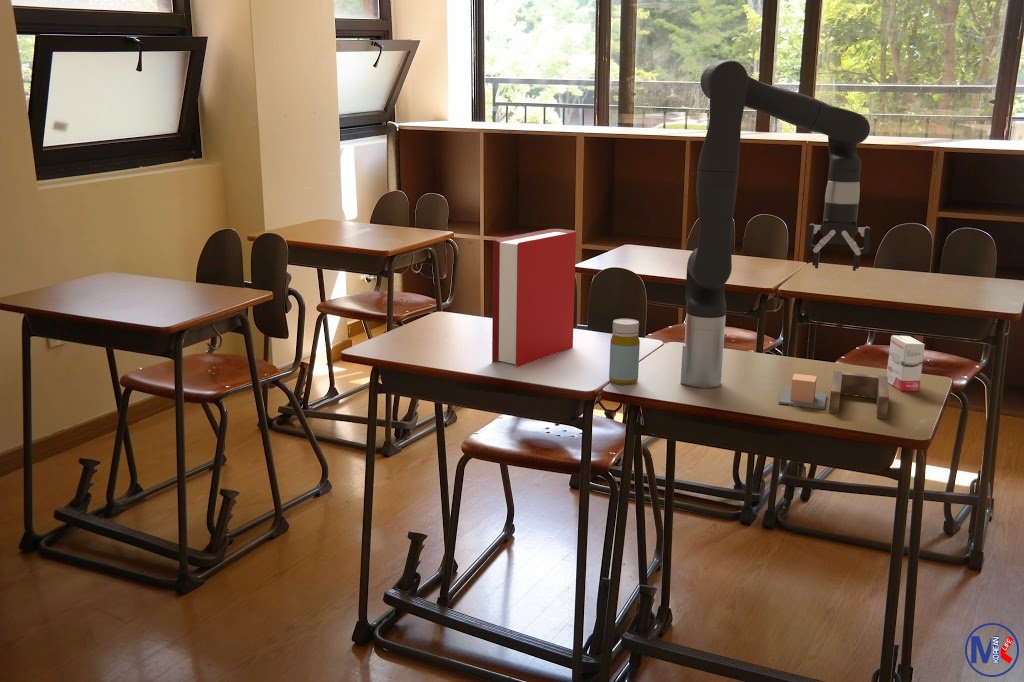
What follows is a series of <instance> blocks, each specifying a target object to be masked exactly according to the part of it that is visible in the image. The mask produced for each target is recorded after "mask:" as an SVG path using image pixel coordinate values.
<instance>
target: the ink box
mask: <svg viewBox="0 0 1024 682" xmlns="http://www.w3.org/2000/svg"><path fill="white" fill-rule="evenodd" d="M925 346H926V344H925V343H923V342H921V341H919V340H917V339H915V338H913V337H912V336H910V335H896V334H895V335H894V334H893V335H891V336H890V345H889V350H888V351H889V352H888V361H887V369H886V376H888V384H889V385H891V386H893V387H894V388H895V389H897V390H898V391H900V392H919V391H920V388H921V378H922V370H923V360H924V354H925V353H924V352H925Z"/></svg>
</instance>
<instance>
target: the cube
mask: <svg viewBox="0 0 1024 682" xmlns="http://www.w3.org/2000/svg"><path fill="white" fill-rule="evenodd" d="M817 379H818V376H817V375H809V374H800V373H793V376H792V379H791V388H790V390H791V397H790V400H791V401H800V402H808V403H813V401H814V398H815V393H816V390H817V389H816V387H817V381H818V380H817Z"/></svg>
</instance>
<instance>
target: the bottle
mask: <svg viewBox="0 0 1024 682" xmlns="http://www.w3.org/2000/svg"><path fill="white" fill-rule="evenodd" d="M639 322H640V321H638V320H637V319H633V318H617V319H614V320H613V321H612V335H611V338H610V346H609V368H608V369H609V370H608V379H609V381H610V382H611V383H612V384H615V385H619V386H631V385H634V384H636V383H637V382H638V381H639V369H640V368H639V367H640V366H639V365H640V344H641V343H640V341H641V340H640V338H639V330H640V329H639V328H640V327H639V326H640V323H639Z"/></svg>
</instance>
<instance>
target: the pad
mask: <svg viewBox="0 0 1024 682" xmlns="http://www.w3.org/2000/svg"><path fill="white" fill-rule="evenodd" d="M779 395H780V396H779V399H778V403H780V404H779V405H782V404H788V405H787V406H791V405H796V406H795V407H800V406H803V407H802V408H808V407H810V409H817V408H818V409H819V410H825V408H826V400H827V393H817V392H815V398H814V401H813V403H808V402H800V401H791V400H790V397H791V389H783V388H782V390H781V392H780V394H779Z"/></svg>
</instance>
